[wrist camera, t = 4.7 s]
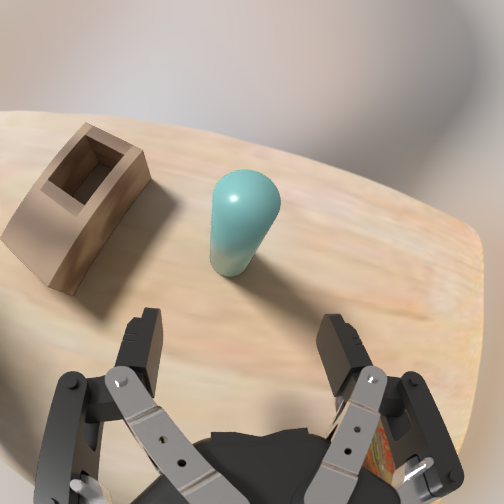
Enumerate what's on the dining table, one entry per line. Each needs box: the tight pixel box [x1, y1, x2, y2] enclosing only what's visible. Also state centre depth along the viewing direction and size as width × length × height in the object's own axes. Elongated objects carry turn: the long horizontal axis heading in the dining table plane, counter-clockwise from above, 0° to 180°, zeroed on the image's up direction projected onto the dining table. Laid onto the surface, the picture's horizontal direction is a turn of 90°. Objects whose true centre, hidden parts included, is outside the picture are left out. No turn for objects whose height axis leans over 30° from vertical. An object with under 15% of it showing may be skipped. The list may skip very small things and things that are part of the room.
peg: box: [210, 170, 281, 277], centre depth 21 cm, size 4×4×12 cm
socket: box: [0, 123, 151, 295], centre depth 23 cm, size 14×8×5 cm, turn 151°
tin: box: [336, 396, 411, 485], centre depth 19 cm, size 15×3×8 cm, turn 15°
